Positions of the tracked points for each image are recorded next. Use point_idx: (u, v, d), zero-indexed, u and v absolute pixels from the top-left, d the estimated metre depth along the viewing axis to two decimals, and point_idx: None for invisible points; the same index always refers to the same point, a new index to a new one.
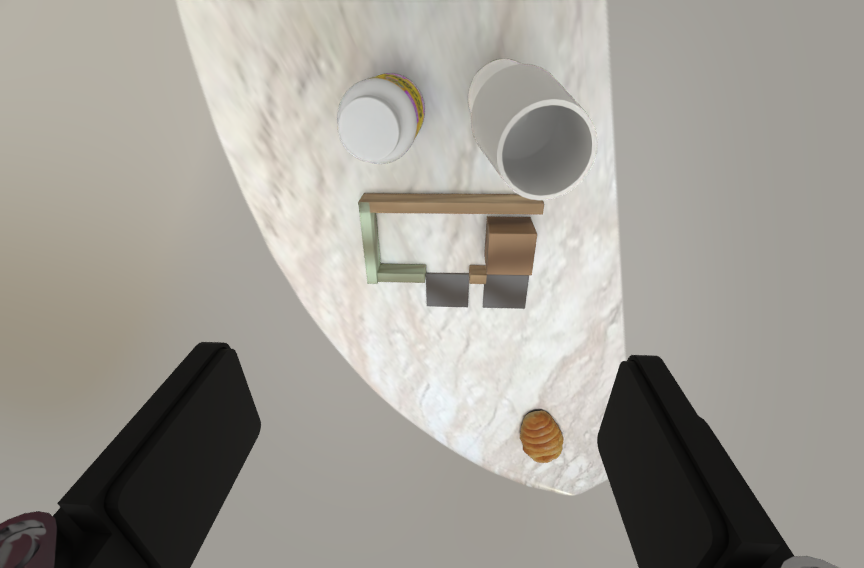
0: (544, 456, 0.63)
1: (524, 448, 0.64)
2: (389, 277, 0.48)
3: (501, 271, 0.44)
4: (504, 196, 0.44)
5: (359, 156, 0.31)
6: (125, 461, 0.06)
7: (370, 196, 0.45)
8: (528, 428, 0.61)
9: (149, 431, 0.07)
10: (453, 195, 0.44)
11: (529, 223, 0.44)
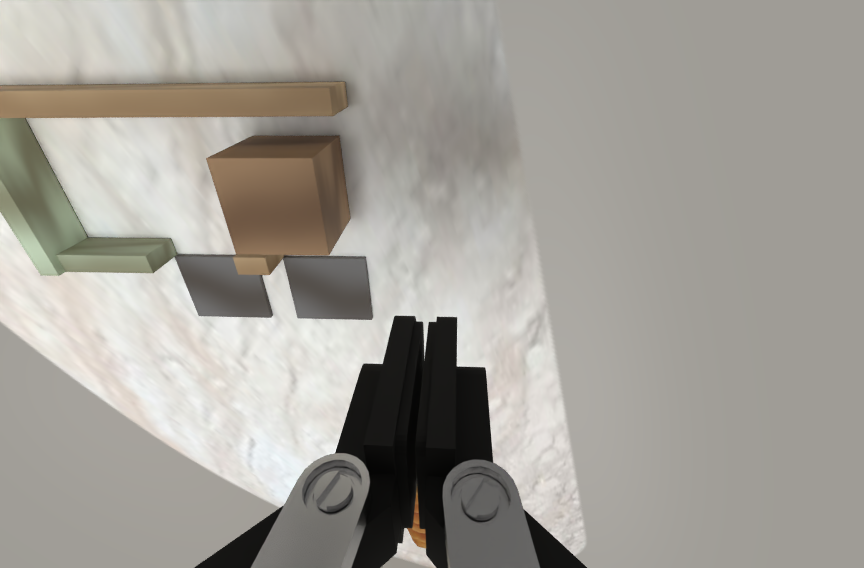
0: None
1: None
2: (83, 263, 0.25)
3: (264, 246, 0.21)
4: (265, 83, 0.20)
5: None
6: (397, 412, 0.07)
7: None
8: None
9: (400, 388, 0.08)
10: (160, 85, 0.21)
11: (323, 143, 0.20)
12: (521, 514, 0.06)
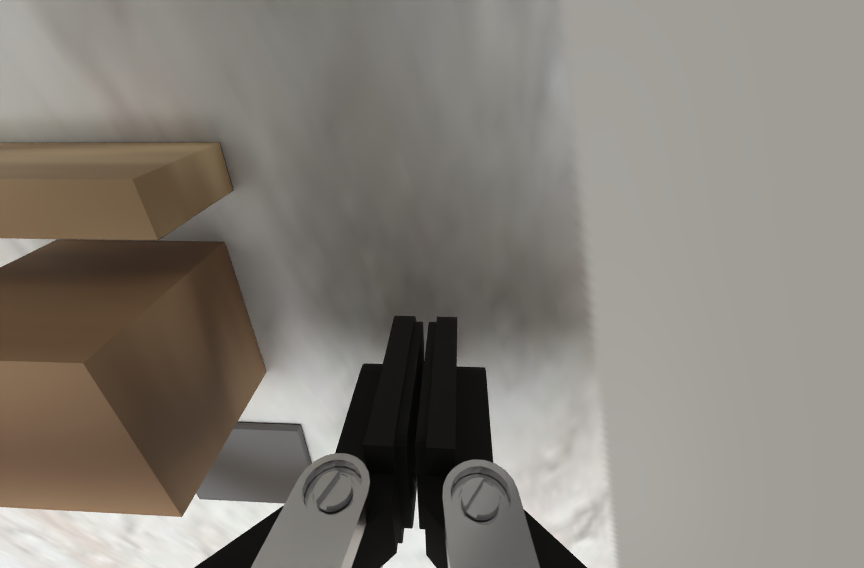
0: None
1: None
2: None
3: (41, 498, 0.09)
4: (37, 149, 0.09)
5: None
6: (398, 412, 0.07)
7: None
8: None
9: (400, 388, 0.08)
10: None
11: (169, 277, 0.09)
12: (522, 513, 0.06)
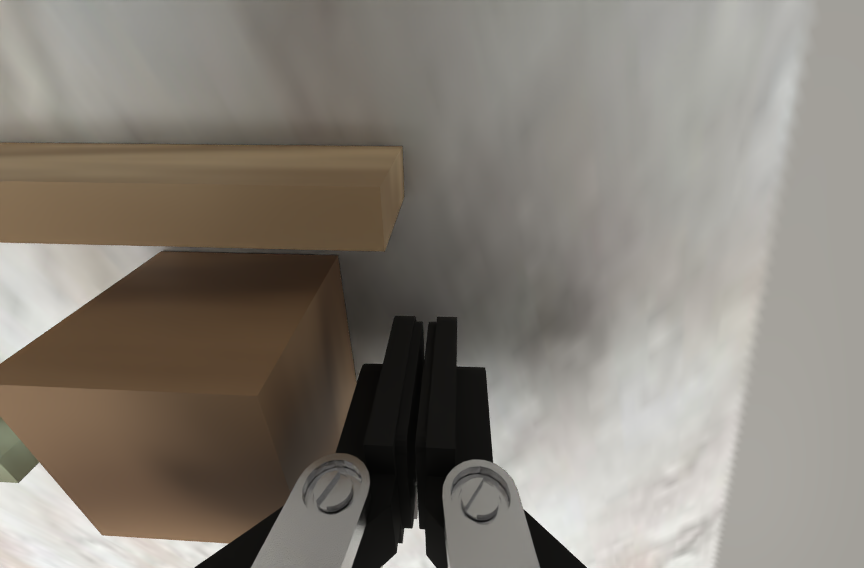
0: None
1: None
2: None
3: (161, 529, 0.09)
4: (218, 152, 0.09)
5: None
6: (398, 412, 0.07)
7: None
8: None
9: (400, 389, 0.08)
10: None
11: (299, 297, 0.09)
12: (521, 513, 0.06)
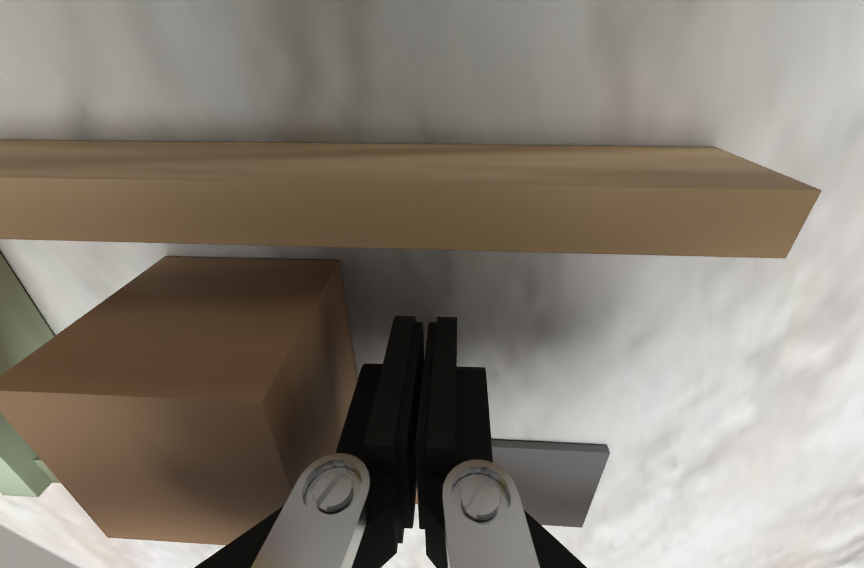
0: None
1: None
2: None
3: (166, 531, 0.09)
4: (540, 152, 0.08)
5: None
6: (398, 412, 0.07)
7: None
8: None
9: (400, 388, 0.08)
10: (279, 148, 0.09)
11: (301, 302, 0.09)
12: (521, 513, 0.06)
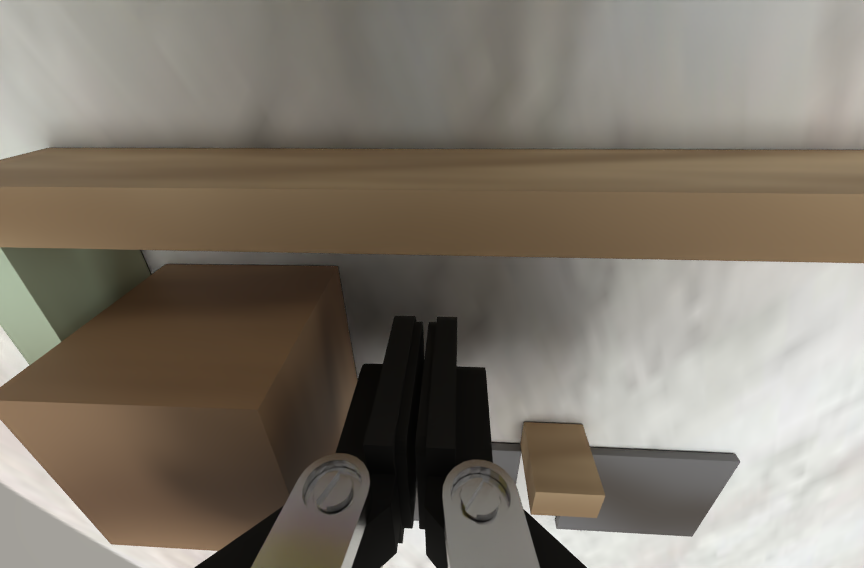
0: None
1: None
2: None
3: (168, 538, 0.09)
4: (754, 158, 0.08)
5: None
6: (398, 412, 0.07)
7: (49, 157, 0.09)
8: None
9: (400, 388, 0.08)
10: (474, 155, 0.08)
11: (299, 309, 0.09)
12: (521, 513, 0.06)
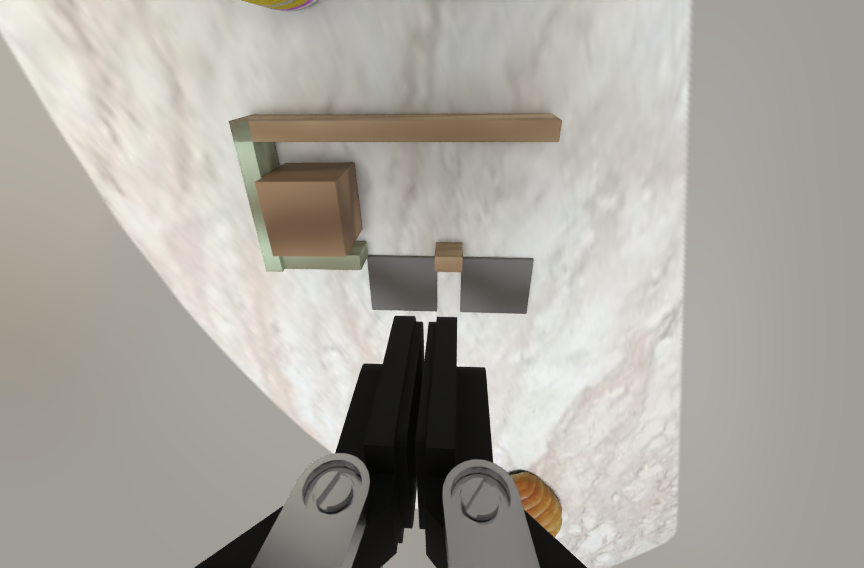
0: None
1: None
2: (302, 261, 0.29)
3: (295, 250, 0.26)
4: (490, 115, 0.25)
5: None
6: (397, 412, 0.07)
7: (258, 116, 0.26)
8: None
9: (400, 388, 0.08)
10: (402, 115, 0.25)
11: (342, 169, 0.26)
12: (522, 513, 0.06)
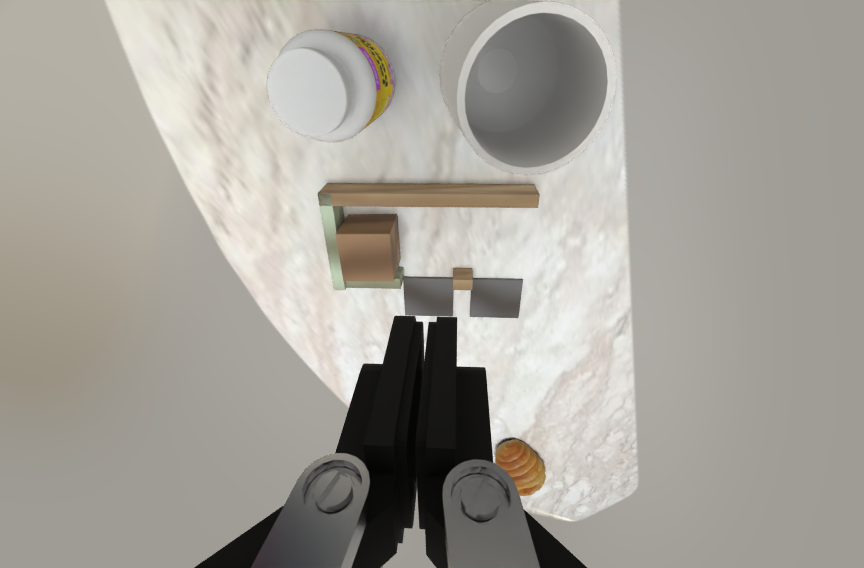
0: (525, 489, 0.57)
1: None
2: (359, 282, 0.41)
3: (359, 277, 0.38)
4: (492, 186, 0.37)
5: (298, 128, 0.24)
6: (397, 412, 0.07)
7: (333, 186, 0.38)
8: (501, 460, 0.56)
9: (400, 388, 0.08)
10: (432, 186, 0.37)
11: (390, 221, 0.38)
12: (522, 513, 0.06)
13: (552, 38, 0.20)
